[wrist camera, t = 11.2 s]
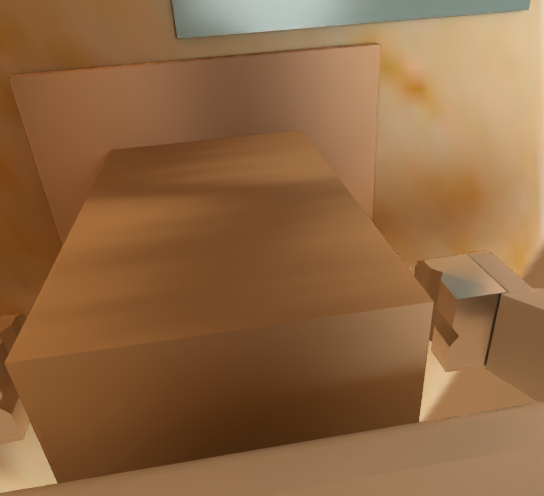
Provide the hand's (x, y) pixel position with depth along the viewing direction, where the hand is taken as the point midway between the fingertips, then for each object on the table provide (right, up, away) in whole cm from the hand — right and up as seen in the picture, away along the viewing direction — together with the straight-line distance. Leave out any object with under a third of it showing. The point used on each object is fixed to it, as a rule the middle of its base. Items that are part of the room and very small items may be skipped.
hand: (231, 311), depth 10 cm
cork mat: (-1, +2, +4) cm, 5 cm away
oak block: (-1, +2, +4) cm, 4 cm away
